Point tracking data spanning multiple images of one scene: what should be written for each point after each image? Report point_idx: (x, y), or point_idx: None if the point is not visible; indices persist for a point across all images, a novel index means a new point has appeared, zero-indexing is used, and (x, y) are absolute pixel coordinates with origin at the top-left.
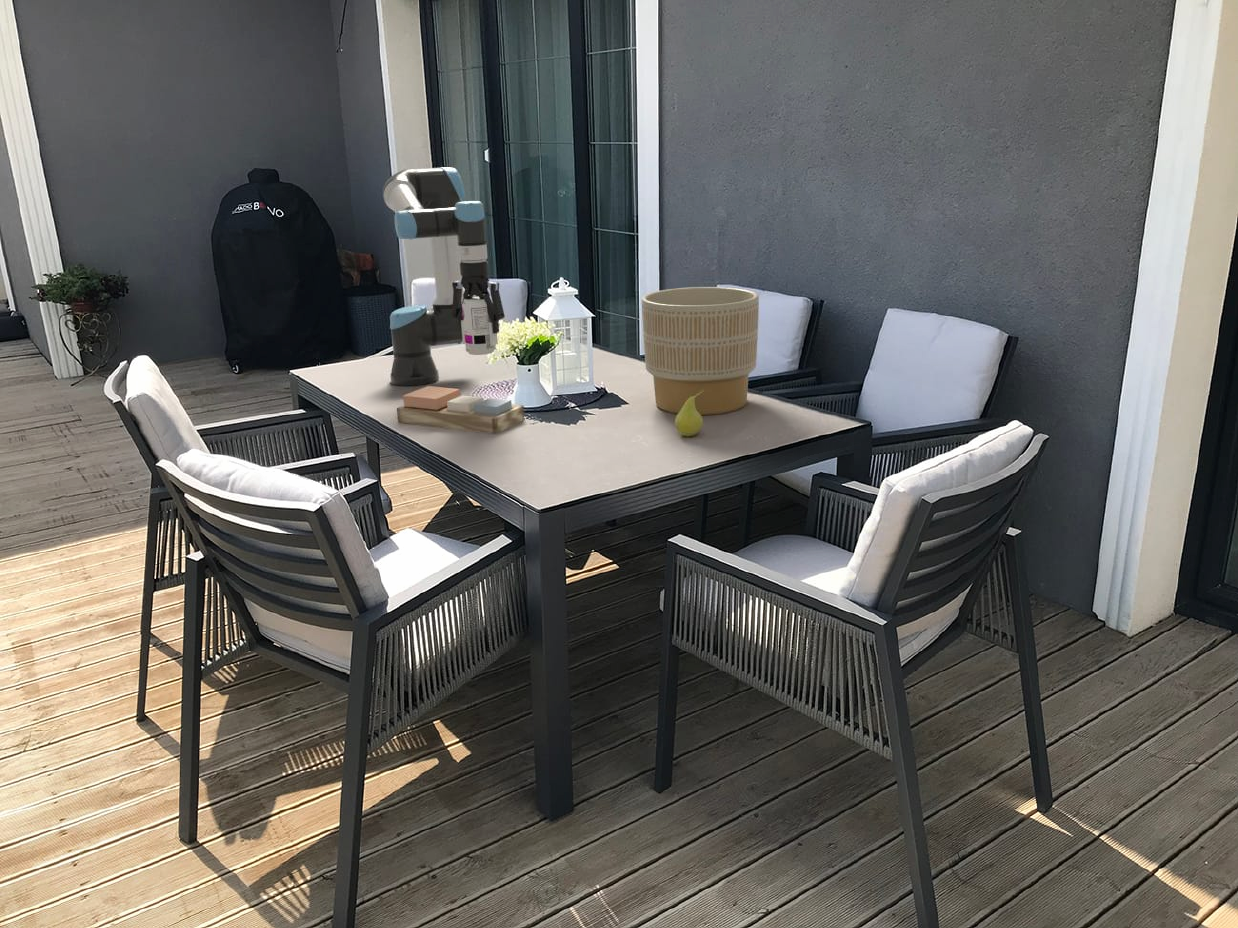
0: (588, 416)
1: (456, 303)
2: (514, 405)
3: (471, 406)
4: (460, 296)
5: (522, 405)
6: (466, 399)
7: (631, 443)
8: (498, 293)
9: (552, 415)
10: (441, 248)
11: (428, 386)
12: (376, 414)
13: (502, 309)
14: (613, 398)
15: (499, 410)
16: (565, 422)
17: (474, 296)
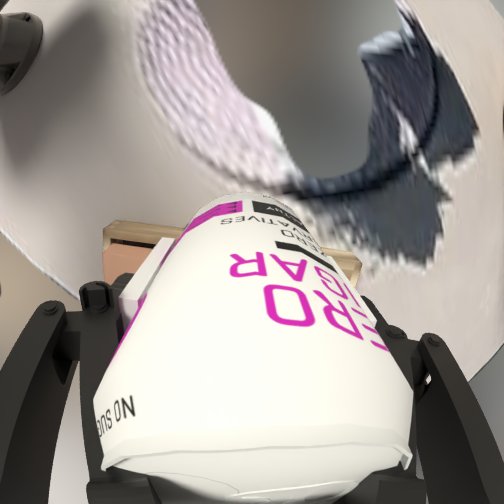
0: (445, 212)
1: (57, 431)
2: (344, 267)
3: None
4: (23, 447)
5: (360, 264)
6: None
7: (478, 313)
8: (494, 472)
9: (393, 214)
10: None
11: (106, 256)
12: (58, 271)
13: (457, 377)
14: (454, 92)
15: None
16: (419, 252)
17: (132, 454)
